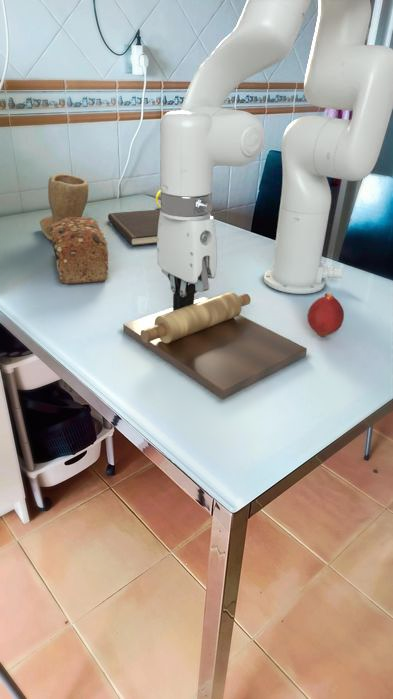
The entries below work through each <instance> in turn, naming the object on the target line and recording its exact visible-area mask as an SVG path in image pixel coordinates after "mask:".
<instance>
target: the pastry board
mask: <svg viewBox="0 0 393 699" xmlns="http://www.w3.org/2000/svg"><path fill="white" fill-rule="evenodd" d="M206 299H208V298H207V297H205V296H204V297H200V298H198V299H194V304H195V303H198V302H201V301H203V300H206ZM171 311H173V307H171V308H167V309H165V310H161V311H158V312H155V313H153V314H149V315H146V316H144V317H140V318H138V319H134V320H132V321H129V322H125V323H123V324H122V325H123V326H122V328H123V333H124V334H126V335H127V336H129V337H130V338H132V339H133V340H135V341H136V342H138V343H139V344H140V345H142V346H143V347H145V348H146V349H147V350H149V351H151V352H152V353H153V354H155V355H156V356H158V357H159V358H161V359H162V360H164V361H165V362H166V363H168V364H170V365H171V366H173V367H174V368H176V369H177V370H179V372H181V373H183V374H184V375H185V376H187V377H188V378H191V380H193V381H195V382H196V383H198V384H199V385H200V386H202V387H204V388H205V389H206V390H208V391H209V392H211V393H212V394H213V395H215V396H217V398H220V399H221V400H225V399H227V398H229V397H231V396H233V395H235V394H237V393H238V392H240V391H242V390H244V389H246V388H247V387H250V386H252V385H254V384H255V383H258V382H260V381H261V380H264V379H265V378H268V377H269V376H271V375H273V374H275V373H277V372H279V371H280V370H283V369H285V368H287V367H289V366H291V365H292V364H294V363H296V362H298V361H300V360H301V359H304V358H306V356H307V351H308V349H307V347H305V346H303V345H301V344H299V343H297V342H295V341H293V340H291V339H289V338H287V337H285V336H283V335H281V334H279V333H277V332H276V331H273V330H272V329H269V328H267V327H266V326H263V325H261V324H259V323H257V322H255V321H253V320H251V319H249V318H248V317H245V316H243V315H241V314H239V315H238V316H236V317H234V318H231V319H229V320H226V321H223V322H221V323H218V324H216V325H213V326H211V327H208V328H205V329H203V330H200V331H198V332H195V333H193V334H190V335H187V336H185V337H182V338H180V339H177V340H175V341H172V342H169V343H164V342H162V341H161V340H160V339H159V338H158V339H155V340H153V341H150V342H147V343H145V342H144V341H143V340H142V338H141V335H140V332H141V330H144V329H147V328H149V327H152V326H154V322H155V319H156V317H157V316H160V315H163V314H165V313H168V312H171Z"/></svg>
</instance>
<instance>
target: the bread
mask: <svg viewBox="0 0 393 699" xmlns="http://www.w3.org/2000/svg"><path fill="white" fill-rule="evenodd" d="M50 234H51V239H52V240H51V243H52V250H53V253H54V257H55V262H56V268H57V273H58V278H59V281H60V283H63V284H69V285H72V284H84V283H99V282H103V281H105V280H106V279H107V278H108V275H109V274H108V271H109V250H108V247H107V246H108V241H107V240H106V236H105V235H104V232H103V230H102V229H101V228H100V226H99V224H98V222H97V221H96V220H95V219H94V218H92V217H83V216H82V217H67V218H62V219H60V220H59V221H58V222H56V223H55V224H52V225H51V227H50Z"/></svg>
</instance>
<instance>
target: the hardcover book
mask: <svg viewBox="0 0 393 699" xmlns="http://www.w3.org/2000/svg"><path fill="white" fill-rule="evenodd" d="M160 210H161V208H160V209H147V210H146V209H145V210H136V211H122V212H121V211H120V212H109V213H108V215H107V219H108V220H107V221H108V222H110V223H111V224H112V225H113V226H114V228H115V229H116V230H117V231H118V232H119V233H120V234H121V235H122V237H124V239H125V240H126V241H127V242H128V243H129V244H130V245H131V246H132V247H141V246H152V245H157V234H158V223H159V216H160Z"/></svg>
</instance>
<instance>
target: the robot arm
mask: <svg viewBox="0 0 393 699" xmlns="http://www.w3.org/2000/svg"><path fill="white" fill-rule="evenodd" d="M311 2H312V0H246V3H245V4H244V8H243V9H242V13H241V15H240V18H239V19H238V22H237V24H236V26H235V27H234V29H233V30H232V31H231V32H230V33H229V34H228V35H227V36H226V37H224V38H223V40H221V42H220V43H219V44H218V45H217V46H216V47H215V48H214V49H213V51H212V52H211V53H210V54H209V56H208V57H206V58H205V60H204V61H203V62H202V63H201V64H200V66H199V68H198V69H197V70H196V72H195V74H194V75H193V77H192V79H191V81H190V83H189V85H188V87H187V90H186V93H185V95H184V99H183V101H182V103H181V106H180V109H179V110H176V111H175V110H173V111H168V112H165V113H164V114H163V115H162V117H161V120H160V130H159V131H160V132H159V133H160V136H159V138H160V139H159V140H160V141H159V142H160V144H159V145H160V148H159V149H160V189H161V193H160V206H161V208H160V209H161V210H160V209H159V210H160V216H159V223H158V234H157V244H156V260H157V265H158V267H159V268H160V269H161V273H163V274H164V275H165V276H166V277H167V278H168V281H169V283H170V284H169V285H170V291H171V292H172V293H173V294H172V308H173V311H174V310H177V309H180V308H183V307H186V306H189V305H192V304H194V300H195V294H197V293H203V292H207V291H209V289H210V284H209V279H211V280H212V279H215V278H216V277H217V266H218V247H217V245H218V244H217V241H218V240H217V231H216V222H215V217H214V216H212V215H211V213H212V211H213V209H214V208H213V204H212V194H213V192H212V190H213V171H214V167H215V166H224V167H225V166H226V167H243V166H245V165H248V164H250V163H253V161H255V160H256V159H257V158H258V157H259V156H260V154H261V153H262V151H263V149H264V146H265V141H266V132H265V128H264V125H263V123H262V122H261V121H260V119H259V118H258V117H257V116H256V115H254V114H252V113H250V112H248V111H245V110H240V109H232V108H226V107H225V108H224V107H223V105H224V103H225V102H226V101H227V98H228V97H229V96H230V95H231V93H232V92H233V91H234V90H235V89H236V88H237V87H238V86H239V85H240V84H242V83H243V82H245V81H247V79H249V78H251V77H253V76H255V75H257V74H259V73H261V72H263V71H265V70H267V69H269V68H271V67H273V66H274V65H276V64H278V63H279V62H281V61H282V60H284V59H286V58H287V57H288V55H289V54H290V52H291V51H292V49H293V46H294V44H295V42H296V39H297V36H298V35H299V34H298V33H299V31H300V29H301V26H302V24H303V22H304V19H305V17H306V14H307V12H308V10H309V7H310V5H311ZM317 3H318V9H317V11H318V12H317V19H316V24H315V25H316V26H315V30H314V34H313V39H312V42H311V49H310V52H309V57H308V62H307V67H306V71H305V75H304V82H303V95H304V98H305V100H306V102H308V104H310V105H312V106H314V107H318V108H323V109H331V110H340V111H349V112H352V114H351V118H350V119H347V118H338V117H334V116H333V117H332V116H322V115H303V116H300V117H298V118H296V119H294V120H293V121H291V122H290V123H289V124H288V126H287V127H286V129H285V131H284V133H283V135H282V139H281V147H280V148H281V149H280V150H281V151H280V152H281V165H282V182H281V183H282V184H281V194H280V195H281V196H280V204H279V211H278V219H277V228H276V235H275V236H276V237H275V244H274V252H273V260H272V261H273V262H272V268H270V269H268V270H266V271H265V272H264V275H263V281H264V284H266V285H267V286H268V287H270V288H271V289H273V290H276V291H279V292H283V293H287V294H295V295H307V294H313V293H318V292H320V291H321V290H322V289H323V288H325V284H326V280H327V278H332V279H342V278H343V275H344V271H343V268H335V267H334V265H329V264H327V265H324V264H323V263H322V257H323V250H324V246H325V245H324V244H325V239H326V233H327V228H328V222H329V216H330V211H331V205H332V190H331V187H330V184H329V180H328V178H333V179H338V180H344V181H347V182H348V181H349V182H358V181H362V180H364V179H365V178H367V177H368V176H369V175H370V174H371V173H372V171H373V169H374V168H375V166H376V163H377V162H378V158H379V156H380V154H381V149H382V146H383V143H384V140H385V136H386V133H387V129H388V126H389V123H390V119H391V116H392V112H393V48H391V47H390V46H386V45H380V44H366V41H367V40H366V39H367V35H368V30H369V27H370V22H371V16H372V4H371V0H317Z"/></svg>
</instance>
